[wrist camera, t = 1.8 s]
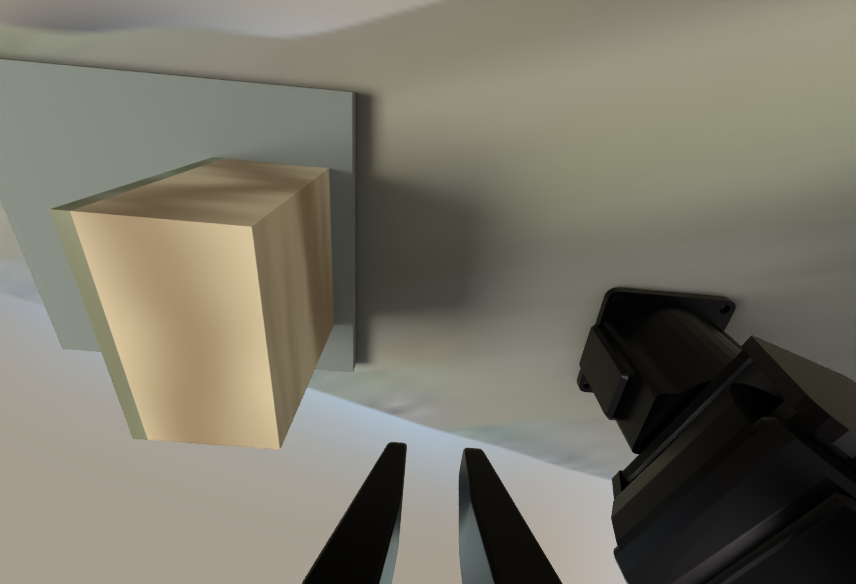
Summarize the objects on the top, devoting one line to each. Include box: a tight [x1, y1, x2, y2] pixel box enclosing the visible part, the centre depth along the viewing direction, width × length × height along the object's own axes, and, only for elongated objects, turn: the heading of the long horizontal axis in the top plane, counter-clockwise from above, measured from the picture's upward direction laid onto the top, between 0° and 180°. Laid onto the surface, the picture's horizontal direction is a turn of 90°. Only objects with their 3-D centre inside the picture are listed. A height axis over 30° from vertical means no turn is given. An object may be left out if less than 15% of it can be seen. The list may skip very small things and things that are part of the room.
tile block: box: [50, 157, 334, 450], centre depth 15 cm, size 5×8×8 cm, turn 175°
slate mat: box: [0, 59, 356, 372], centre depth 19 cm, size 16×14×1 cm
